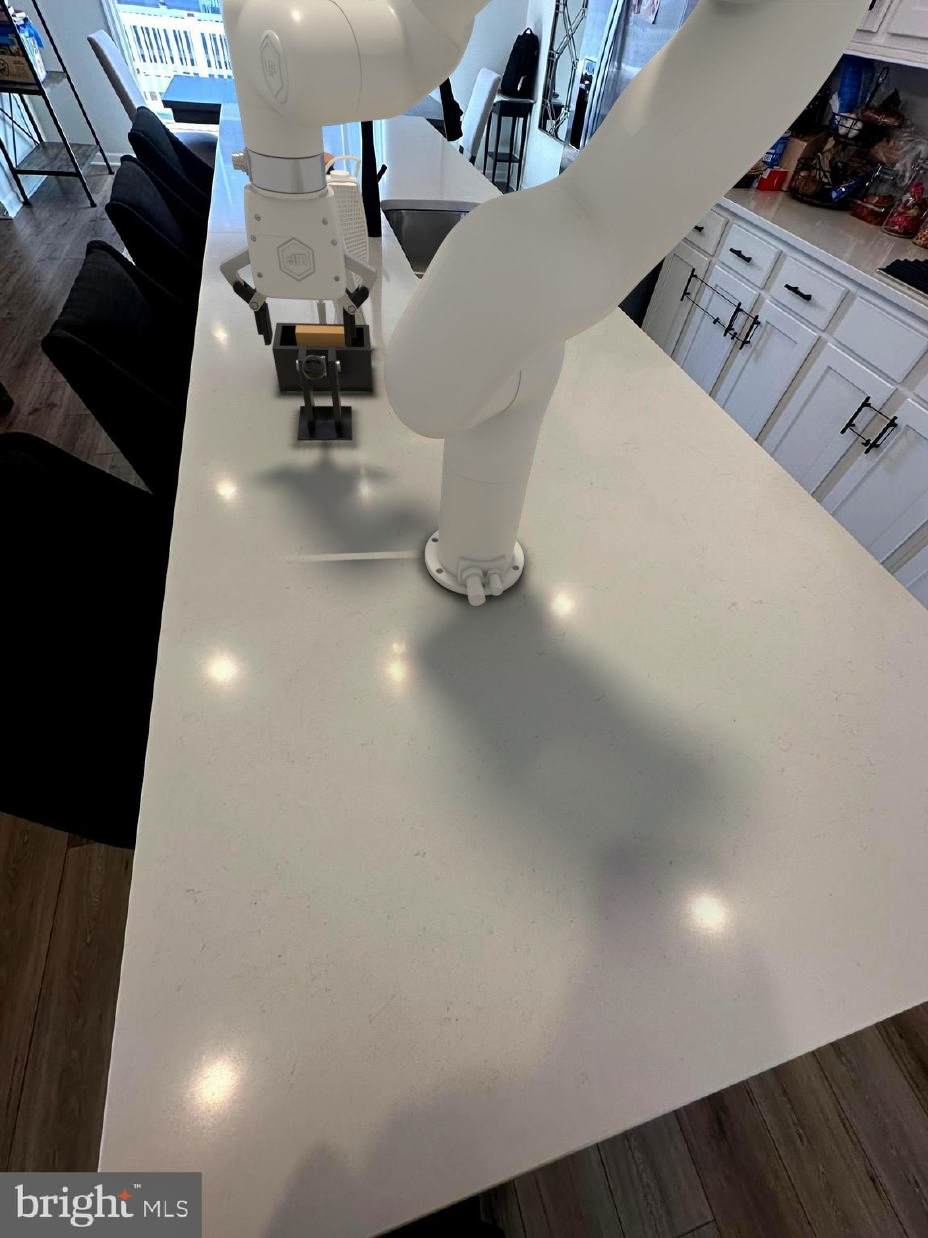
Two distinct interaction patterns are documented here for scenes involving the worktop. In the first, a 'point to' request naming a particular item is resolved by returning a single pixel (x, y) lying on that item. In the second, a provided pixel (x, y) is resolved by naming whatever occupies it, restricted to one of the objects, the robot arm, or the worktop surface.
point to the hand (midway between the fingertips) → (309, 341)
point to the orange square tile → (320, 336)
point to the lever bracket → (323, 418)
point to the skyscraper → (348, 232)
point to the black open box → (351, 360)
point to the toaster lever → (315, 367)
